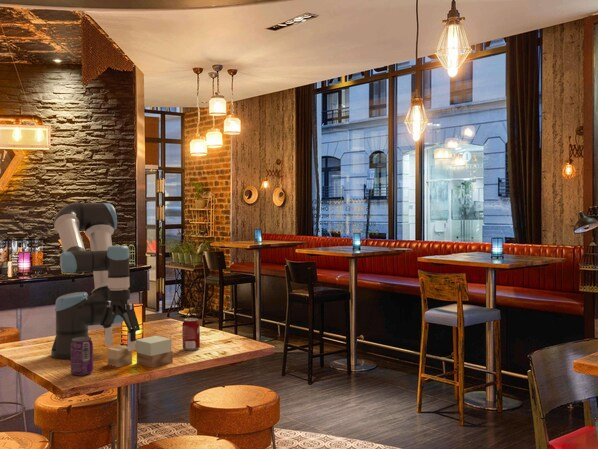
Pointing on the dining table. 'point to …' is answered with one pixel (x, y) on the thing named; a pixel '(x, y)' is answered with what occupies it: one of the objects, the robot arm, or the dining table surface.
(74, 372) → the beverage can
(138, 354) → the tower base block
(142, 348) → the tower top block
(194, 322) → the soda can
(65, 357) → the robot arm
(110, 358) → the oak cube
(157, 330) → the dining table surface
